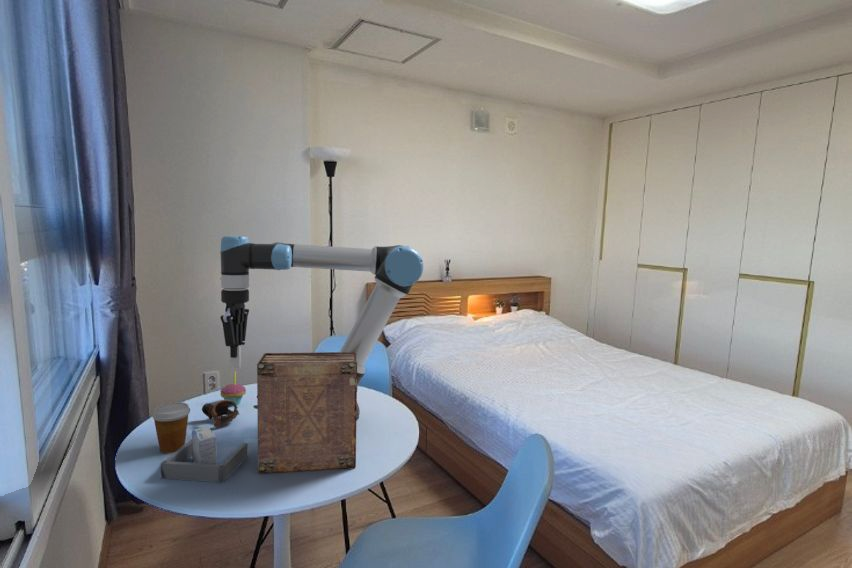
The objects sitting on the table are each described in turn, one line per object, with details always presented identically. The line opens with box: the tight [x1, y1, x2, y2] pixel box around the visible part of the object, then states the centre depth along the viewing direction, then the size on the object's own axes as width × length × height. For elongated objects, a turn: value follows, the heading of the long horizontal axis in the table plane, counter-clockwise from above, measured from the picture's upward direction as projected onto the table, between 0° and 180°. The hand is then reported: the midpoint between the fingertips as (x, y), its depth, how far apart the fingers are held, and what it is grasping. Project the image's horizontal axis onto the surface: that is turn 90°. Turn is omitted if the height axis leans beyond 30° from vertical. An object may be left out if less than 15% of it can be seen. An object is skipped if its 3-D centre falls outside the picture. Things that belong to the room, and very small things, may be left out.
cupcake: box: [220, 371, 247, 407], centre depth 160 cm, size 9×8×12 cm
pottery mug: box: [201, 399, 240, 429], centre depth 144 cm, size 12×10×8 cm
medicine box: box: [191, 426, 218, 464], centre depth 119 cm, size 8×4×9 cm, turn 40°
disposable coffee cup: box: [151, 401, 191, 454], centre depth 126 cm, size 10×10×12 cm
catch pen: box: [160, 438, 248, 483], centre depth 117 cm, size 16×13×4 cm
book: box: [256, 351, 358, 475], centre depth 120 cm, size 25×9×30 cm, turn 101°
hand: (235, 366), depth 131 cm, fingers closed
